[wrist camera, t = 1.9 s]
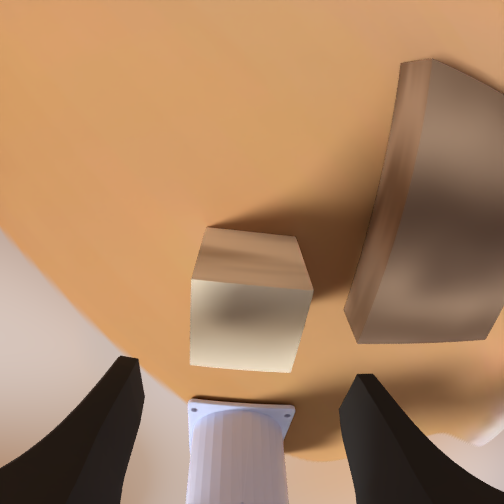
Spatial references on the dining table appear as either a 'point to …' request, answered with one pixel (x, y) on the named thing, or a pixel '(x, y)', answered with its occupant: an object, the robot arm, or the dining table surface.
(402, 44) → the dining table surface
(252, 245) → the beech block
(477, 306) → the walnut slab
